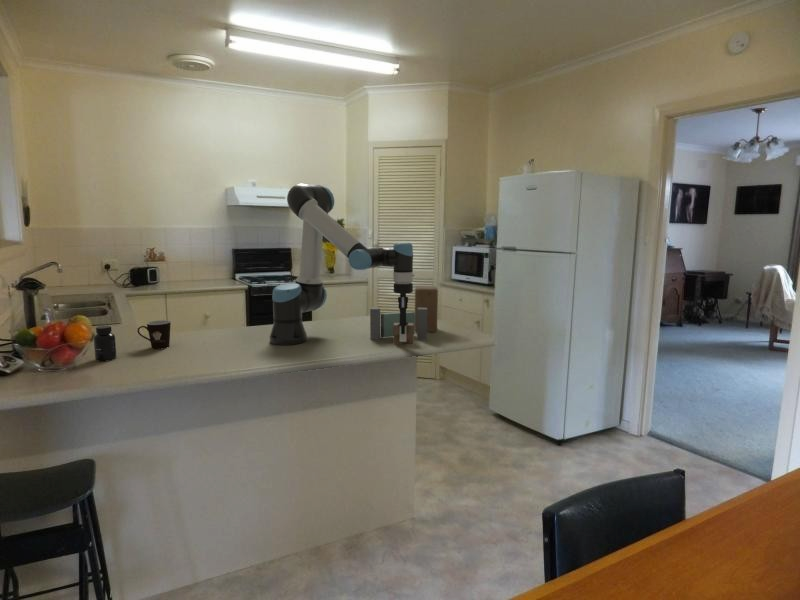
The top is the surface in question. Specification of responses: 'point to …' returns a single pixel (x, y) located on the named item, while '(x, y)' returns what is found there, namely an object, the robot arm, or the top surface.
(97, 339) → the supplement bottle
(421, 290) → the wooden block
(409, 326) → the brown rectangular block
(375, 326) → the hinge post
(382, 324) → the gate
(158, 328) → the coffee mug
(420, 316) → the post
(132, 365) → the top surface
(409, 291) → the robot arm
